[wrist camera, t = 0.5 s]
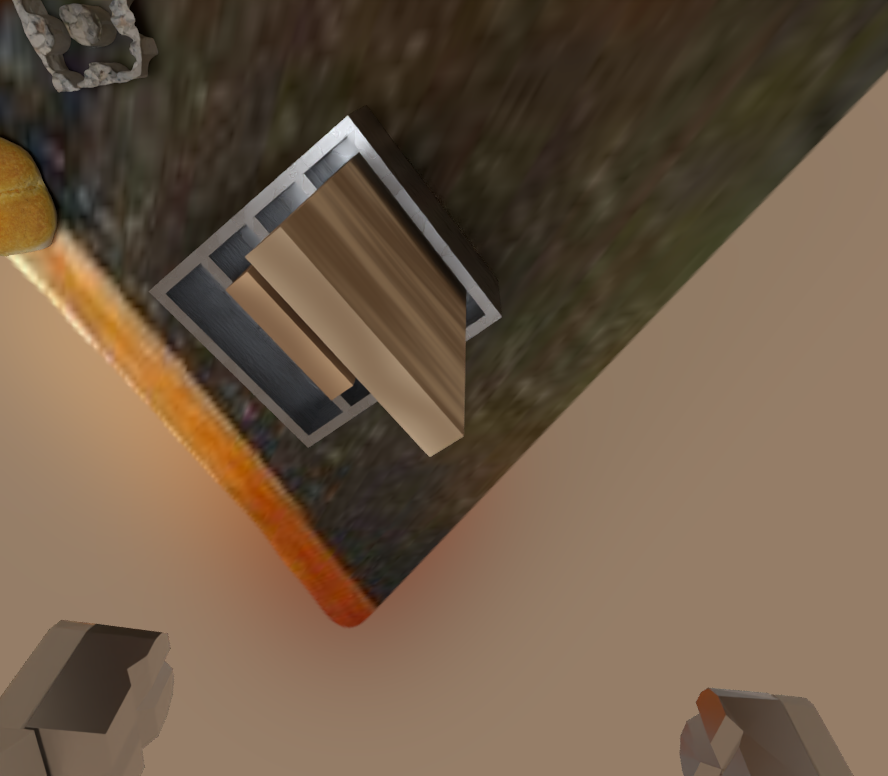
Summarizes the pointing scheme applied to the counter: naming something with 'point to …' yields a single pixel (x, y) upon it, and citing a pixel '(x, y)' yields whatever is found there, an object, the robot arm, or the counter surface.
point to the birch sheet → (376, 299)
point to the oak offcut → (290, 332)
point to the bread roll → (23, 203)
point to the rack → (223, 255)
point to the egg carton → (84, 41)
